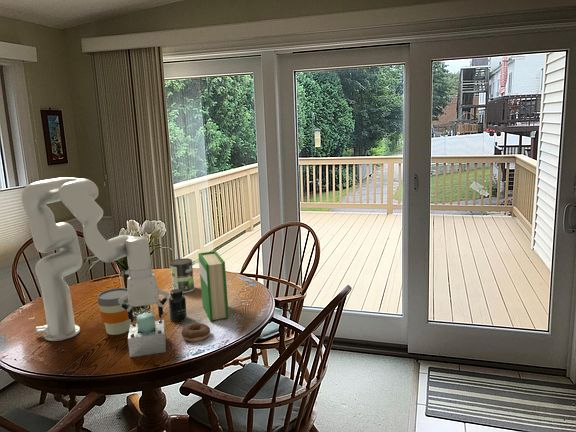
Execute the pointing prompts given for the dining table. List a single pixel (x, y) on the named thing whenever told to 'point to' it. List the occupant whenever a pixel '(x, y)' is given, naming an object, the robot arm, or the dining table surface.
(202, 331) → the donut
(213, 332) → the dining table surface
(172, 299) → the supplement bottle
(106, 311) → the reusable coffee cup
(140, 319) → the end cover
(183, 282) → the coffee can
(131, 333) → the housing
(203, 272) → the hardback book
